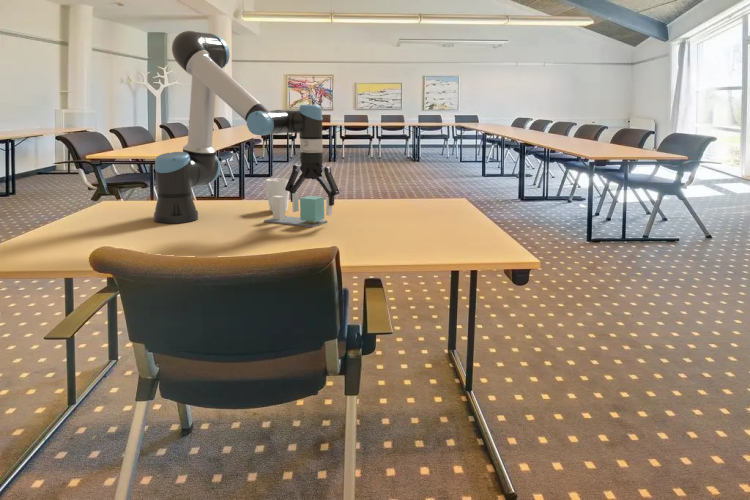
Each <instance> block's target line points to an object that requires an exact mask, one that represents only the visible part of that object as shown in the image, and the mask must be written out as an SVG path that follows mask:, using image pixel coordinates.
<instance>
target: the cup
mask: <svg viewBox="0 0 750 500" xmlns="http://www.w3.org/2000/svg"><path fill="white" fill-rule="evenodd" d="M288 181H289V178H282V177H278V178H277V177H274V178H267V179H266V180H265V182H266V183H265V184H266V185H265V189H266V194H267V195H266V196H267V200H268V207H269V211H270V212H272V213H273V200H272V197H273V196H284V204H285V212H287V211H288V207H289V198H290V192H289V191H286V190H285V188H286V186H287V183H288Z"/></svg>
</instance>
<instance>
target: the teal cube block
mask: <svg viewBox="0 0 750 500" xmlns="http://www.w3.org/2000/svg"><path fill="white" fill-rule="evenodd" d="M299 208H300V209H299V211H300V214H299V215H300V217H299V218H300V220H303V221H312V222H316V221H319V220H325V196H315V195H307V196H303V197H300V198H299Z"/></svg>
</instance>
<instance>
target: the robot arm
mask: <svg viewBox="0 0 750 500" xmlns="http://www.w3.org/2000/svg"><path fill="white" fill-rule="evenodd" d="M171 52H172V56H173V58H174V61H176V63H177V64H178V66H180V68H181V69H183V70H184V71H185V72H186V73H187V74H188V75H191V85H190V87H191V89H190V104H189V121H188V133H187V134H188V135H187V144H184V145H183V147H182V151H173V152H166V153H162V154H159V155H158V156H156V158H155V160H154V165H155V166H154V170H155V172H154V173H155V181H156V193H157V200H156V206H155V210H154V212H153V221H154V222H155V223H159V224H182V223H183V224H184V223H189V222H194V221H197V220H199V212H198V210H197V207H196V204H195V202H194V199H193V193H192V188H193V187H198V186H207V185H208V184H210V183H213V182H215V181H216V180H217V179H218V177H219V176H220V174H221V167H222V166H221V162H220V160H219V157H218V156H217V155H216V152H217V150H216V149H215V148H214V146H213V135H214V123H215V122H214V120H215V109H216V96H217V97H218V98H220V100H222V101H223V102H224V103H225V104H226V105H228V107H230V109H232V110H233V111H234V112H235V113H236V114H238V115H239V116H240V117H241V118H242V119H243V120H244V121H245V122H246V127H247V129H248V131H249V132H250V133H251V134H252V135H255V136H268V135H276V134H299V139H300V140H299V143H300V144H299V146H300V147H299V148H300V151H301V152H300V156H299V157H300V163H301V164H293V165H292V170H291V171H292V172H291V173H290V176H289V178H288V179H289V181H288V183H287V186H286V188H285V190H286V191H289V196H290V202H291V203H292V213H296V212H298V211H300V209H299V208H300V202H299V192H298V190H299V188H300V187H301V185H302V184H303V183H304V182H305V181H306V180H316V181H317V182H318V183H319V185H320V186H321V187H322V189H323V190H324V192H326V194H327V196H326V197H325V198H326V199H325V200H326V201H325V202H326V203H325V205H326V207H325V211H326V213H325V214H326V216H331V215H333V206H335V196H337V195H340V190H339V188H338V185H337V183H336V181H335V178H334V176H333V174H332V168H331V166H326V167H324V166H323V160H324V158H323V157H324V156H323V152H322V151H323V149H324V148H323V146H324V145H323V120H324V118H323V110H322V109H323V108H322V106H321V105H319V104H300V105H299V109H298V110H289V109H288V110H285V109H283V110H282V109H272V110H269V109H267V108H266V107H265V106H264V105H263V104H262V103H261V102H260V101H258V99H257V98H255V97H254V96H253V95H252V94H251V93H250V92H248V90H246V89H245V88H244V87H243V86H241V84H240V83H238V81H236V80H235V79H234V78H233V77H232V76H230V74H228V73H227V72H226V71H225V70H224V69H223V68H225V67H226V65H227V64H228V63H229V60H230V48H229V46H228V43H227V42H226V41H225V40H224V39H223V38H222V37H221V36H219V35H217V34H213V33H208V32H200V31H199V32H198V31H193V30H185V31H181V33H178V34H177V35H175V37H174V38H173V41H172V45H171ZM300 171H301V174H300V175H299V173H300ZM323 174H324V175H323ZM297 177H299V178H298V179H297ZM325 178H326V179H325Z"/></svg>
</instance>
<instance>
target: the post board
mask: <svg viewBox="0 0 750 500" xmlns="http://www.w3.org/2000/svg"><path fill="white" fill-rule="evenodd" d="M272 200H273V212H272V217H271V218H266V219H264V220H263V222H264V223H270V224H278V225H287V226H296V227H306V228H315V227H318V226H321V225H324V224H327V223H328V220H325V219H322V220H319V221H316V222H312V221H303V220H300V217H299V216H298V217H296V216H288V215H285V214H286V211H285V204H284V196H273V197H272Z"/></svg>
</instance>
